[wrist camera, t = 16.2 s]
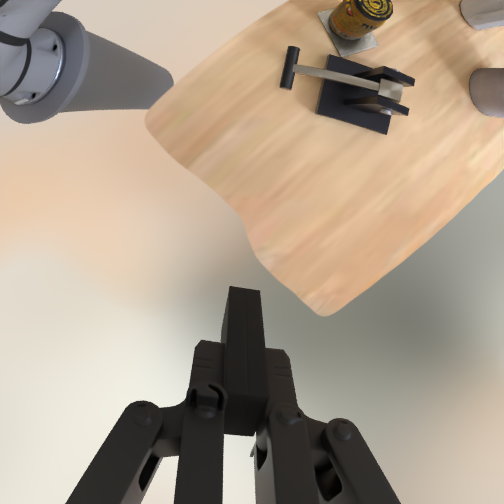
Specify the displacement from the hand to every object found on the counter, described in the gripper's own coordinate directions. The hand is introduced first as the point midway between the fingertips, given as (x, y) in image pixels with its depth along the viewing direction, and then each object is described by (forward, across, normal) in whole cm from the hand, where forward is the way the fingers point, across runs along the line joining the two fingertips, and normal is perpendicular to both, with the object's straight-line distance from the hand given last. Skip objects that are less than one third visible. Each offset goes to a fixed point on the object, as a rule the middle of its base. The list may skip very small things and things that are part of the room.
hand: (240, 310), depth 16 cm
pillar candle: (+35, +42, +28) cm, 61 cm away
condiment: (+35, +12, +28) cm, 46 cm away
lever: (+27, +10, +17) cm, 33 cm away
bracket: (+35, +15, +17) cm, 42 cm away
